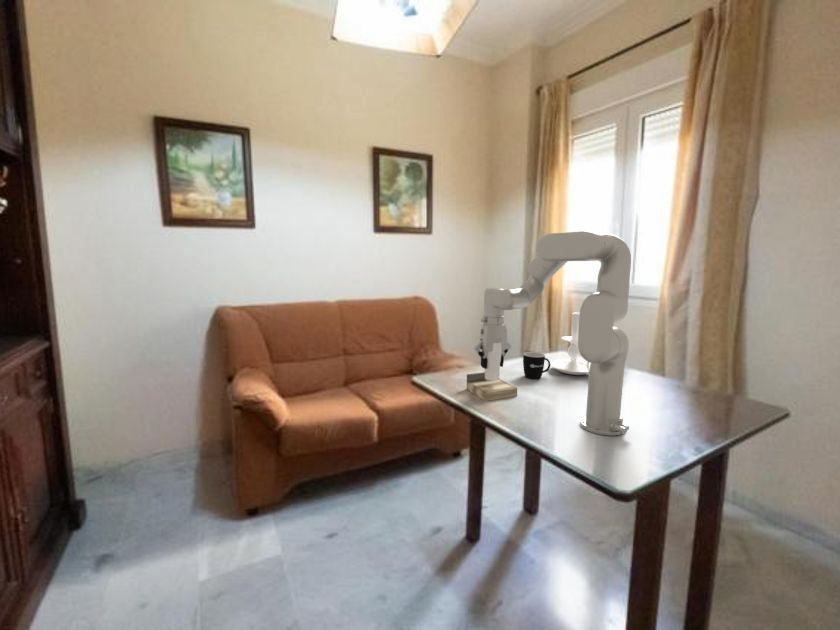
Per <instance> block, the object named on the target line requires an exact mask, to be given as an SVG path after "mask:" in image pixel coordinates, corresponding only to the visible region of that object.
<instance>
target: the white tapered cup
mask: <svg viewBox="0 0 840 630" xmlns="http://www.w3.org/2000/svg"><path fill="white" fill-rule="evenodd" d="M484 352H485V351H484ZM501 354H502V351H501V343H494V344H493V351H492V352H488V354H487V356H486V358H487V369H484V372H485V379H486V380H489V381H497V380H498V379H500V370H501V369H500V368H501V366H500V362H501Z"/></svg>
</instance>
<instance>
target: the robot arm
mask: <svg viewBox="0 0 840 630" xmlns="http://www.w3.org/2000/svg"><path fill="white" fill-rule="evenodd" d="M535 248H536V256H534V258H533V259H531V261H530V262H529V263H528V264H527V270H528V274H529V277H528V279H526V281H525V282H524V283H523V284H522V285H521V286H520V287H516V288H507V289H505V288H501V287H488V288H486V289H484V297H483V298H484V299H483V317H482V318H480V322H482V324H481V328H480V333H479V341H478V343H477V344H476V345H475V346H474V348H473V350H474V351H475V353H476V354H477V355H478V356H479V357H480V367H481V368H483V369H484V370H485V369H487V358H486V356H487V354H488V352H492V351H493V344H494V343H501V351H502V354H501V362H500V368H503V367H504V359H505V356H506V354H507V353H508V351H509V350H510V349H511V347H512V345H511V343H509V342H508V330H507V325H506V323H505V311H513V310H518V309H524V308H527V307H528V306H530V305H531V304H532V303H533V302H534V301H536V299H537V298H538V297H540V295H542V293H543V292H544V290H545V288H546V286H547V283H548V281H549V280H551V278H552V277H553V276H554V275H555V274H556V273H557V272H558V271H559V270H560V269H561V268H562V267H564V266H565V265H566V263H568V262H594V261H595V262H596V261H597V262H600V268H599V271H598V274H597V275H598V276H597V284H596V285H597V287H596V292H593V293H591V294H590V295H588V296H586V298H585V299H584V300H583V301H582V303H581V306H580V311H579V312H580V318H579V333H578V348H579V352H580V356H581V357H582V359H583V360H585V362H590V363H591V364H590V370H589V375H588V381H587V382H588V384H587V386H588V387H587V399H586V400H587V401H586V410H585V411H586V413H585V414H586V415H585V416H583V417H582V418H580V420H579V421H580V422H579V423H580V426H581V427H582V428H583V429H584V430H586V431H588V432H590V433H593V434H597V435H601V436H610V437H611V436H613V437H614V436H615V437H616V436H619V435H626V434H627V433H628V431H629V430H630V426H629V425H627V424H624V423H623V421H624V418H623V417H621V410H622V409H621V408H622V397H623V396H622V395H623V385H624V375H625V367H626V361H627V357H628V352H629V342H630V341H629V339H628V336H627V334H626V333H625V331H624V330H622V329H621V328H619V327H617V326H614V323H617V322H619V321H621V320H623V319H624V318H625V317H626V315H627V314H628V310H629V309H628V307H629V296H630V295H629V293H630V279H631V278H630V276H631V268H632V254H631V251H630V248H629V246H628V244H627V243H626V242H625V241H624V240H623V239H622V238H620V237H619V236H617V235H615V234H612V233H609V232H605V231H604V232H603V231H592V230H591V231H590V230H583V231H582V230H580V231H569V232H554V233H553V232H551V233H547V234H545V235H543V236H541V237H540V239H539V240H538V242H537V243H536V247H535ZM484 351H485V352H484Z"/></svg>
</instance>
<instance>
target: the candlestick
mask: <svg viewBox="0 0 840 630" xmlns="http://www.w3.org/2000/svg"><path fill="white" fill-rule="evenodd" d="M579 318H580V311H574V312H572V314H571V323H570V324H571V328H570V335H569V336H568V335H567V336H566V335H565V336H561V339H562V340H564V341H567V342H569V343H570V345H569V346H568V348H567V349H566V350H567V351H566V352H567V355H568V357H569V358H570V359H555V360H553V361H550V367H551V368H554V369H555V370H557V371H558V372H560V373H563V374H568V375H572V376H573V375H574V376H575V375H576V376H583V375H587V376H589V370H590V364H591V363H590V362H588V361H582V360H577V358H579V357H580V356H581V354H580V352H579V348H578V333H579Z"/></svg>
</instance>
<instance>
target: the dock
mask: <svg viewBox="0 0 840 630" xmlns="http://www.w3.org/2000/svg"><path fill="white" fill-rule="evenodd" d="M466 390H467V391H469V392H470V393H472V394H473V395H475V396H477V397H478V398H480V399H482V400H483V401H484V402H485V401H492V400H493V401H494V400H499V399H506V398H507V399H508V398H512V397H518V387H516V386H515V385H512V384H510V383H508V382H507V381H504V380H502V379H500V378H499V379H498V380H497V381H489V380H486V379H485V371H483V372H476V373H469V374H468V373H467V374H466Z"/></svg>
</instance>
